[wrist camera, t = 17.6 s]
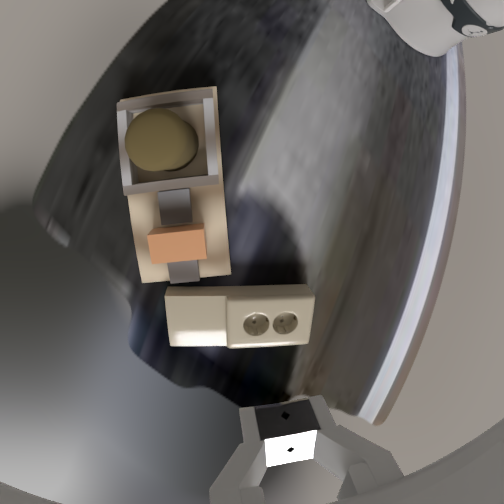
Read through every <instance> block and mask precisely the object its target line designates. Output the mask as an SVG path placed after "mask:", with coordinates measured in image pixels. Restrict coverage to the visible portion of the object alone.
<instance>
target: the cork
mask: <svg viewBox="0 0 504 504" xmlns="http://www.w3.org/2000/svg"><path fill="white" fill-rule="evenodd" d="M124 140H125V149H126V152H127V154H128V157H129V158H130V159H131V161H132V162H133V163H134V164H135V165H136V166H138V167H140V168H142V169H143V170H148V171H153V172H154V171H161V170H164V171H169V172H171V171H178V170H181V169H183V168H185V167H187V166H188V165H189V164H190V163H191V162H192V161H193V160H194V158H195V156H196V155H197V152H198V147H199V140H198V135H197V133H196V131H195V129H194V128H193V127H192V126H191V125H190V124H189V123H187V122H186V121H184V120H182V119H181V118H180V117H179V116H178V114H176V113H174V112H173V111H171V110H169V109H164V108H154V109H148V110H146V111H144V112H142V113H140V114H138V115H137V116H136V117H135V118H134V119H133V120H132V121H131V123H130V125H129V126H128V128H127V130H126V134H125V139H124Z"/></svg>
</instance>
